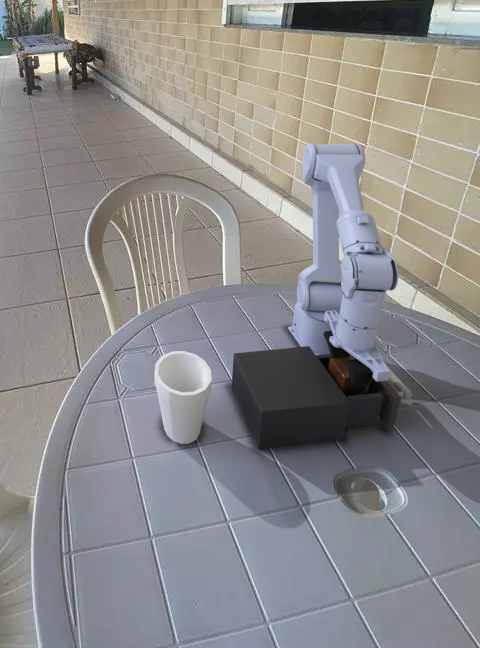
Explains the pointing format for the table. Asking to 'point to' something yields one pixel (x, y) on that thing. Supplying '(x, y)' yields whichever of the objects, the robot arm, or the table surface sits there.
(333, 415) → the black drawer box
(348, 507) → the table surface
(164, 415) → the foam cup
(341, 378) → the block
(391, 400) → the sliding drawer
